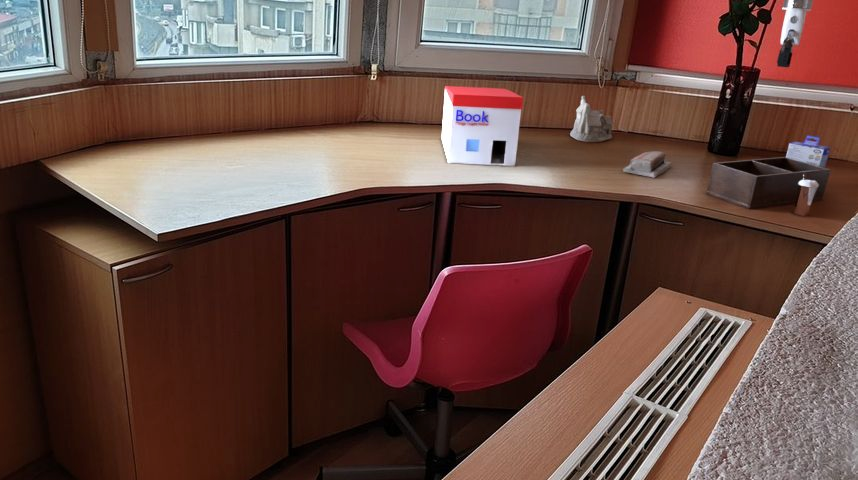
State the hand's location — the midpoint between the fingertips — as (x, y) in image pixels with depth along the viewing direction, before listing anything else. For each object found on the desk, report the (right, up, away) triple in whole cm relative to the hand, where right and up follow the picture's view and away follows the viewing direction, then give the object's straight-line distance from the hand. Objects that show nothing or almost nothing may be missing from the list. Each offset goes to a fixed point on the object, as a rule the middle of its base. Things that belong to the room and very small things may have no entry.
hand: (782, 65), depth 215 cm
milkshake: (-12, -47, -29) cm, 56 cm away
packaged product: (-38, -31, +8) cm, 49 cm away
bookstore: (-90, -23, +21) cm, 95 cm away
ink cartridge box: (+4, -36, -2) cm, 37 cm away
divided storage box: (-14, -41, -15) cm, 46 cm away
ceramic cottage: (-43, -13, +50) cm, 67 cm away
